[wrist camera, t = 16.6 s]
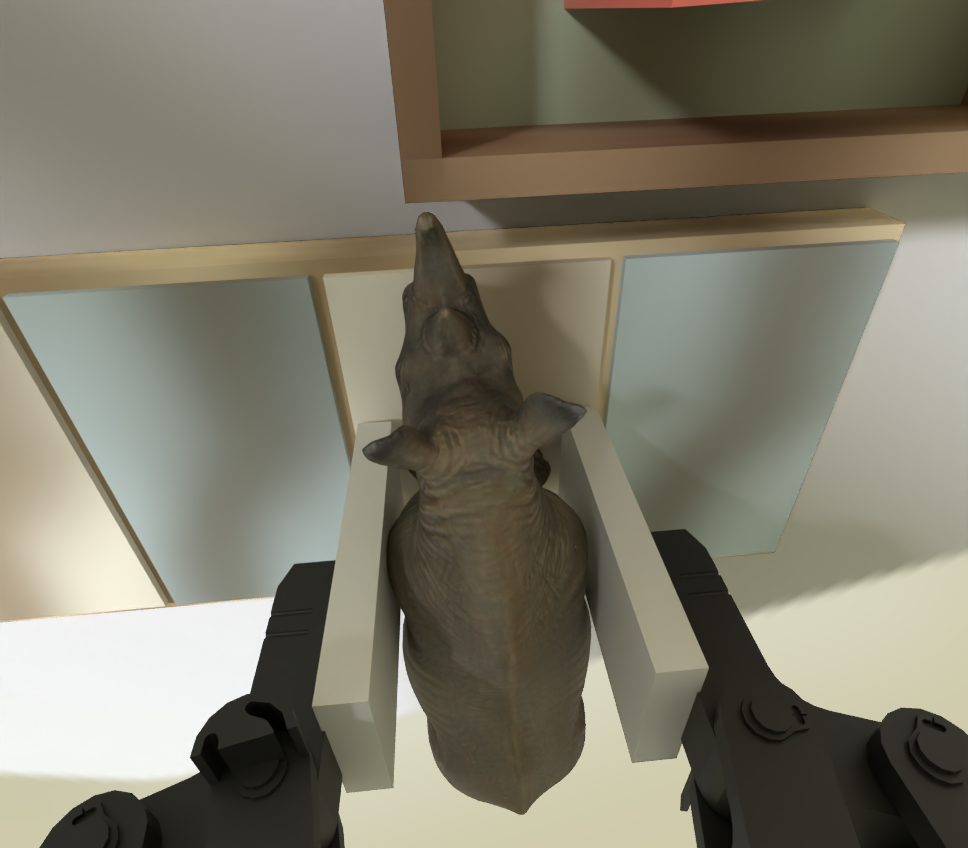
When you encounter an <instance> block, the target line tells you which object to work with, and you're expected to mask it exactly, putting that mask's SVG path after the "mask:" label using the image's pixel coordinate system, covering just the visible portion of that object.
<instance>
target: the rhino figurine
mask: <svg viewBox="0 0 968 848" xmlns="http://www.w3.org/2000/svg"><path fill="white" fill-rule="evenodd" d="M415 231H416V233H415V238H416V257H415V265H414V278H413V282H412V283H410V284H408V285H407V286H406V287H405V289H404V291H403V295H402V301H403V312H404V318H405V337H404V341H403V346H402V349H401V352H400V355H399V358H398V360H397V362H396V366H395V376H396V379H397V383H398V386H399V390H400V394H401V399H402V422H403V426H401V427H399V428H397V429H396V430H395V431H394V432H392V433H391V434H390V435H389V436H386V437H383V438H380V439H377V440H375V441H372V442H370V443H369V444H368V445H366V446H365V447H364V448H363V449H362V452H363V455H364V456H365V457H366V458H367V459H368V460H369V461H371V462H373V463H377V464H379V465H383V466H389V467H394V468H398V469H407V470H408V471H409V472H410V473H411V474H412V475H413V476H414V477H415V478H416V479H417V480H418V483H419V487H420V489H419V491H418V492H417V493H415V494H414V495H413V496H412V498H411V499H410V500H409V501H408V502H407V504H406V506H405V507H404V509H403V510H402V512H401V514H400V517H399V518H398V519H397V520H396V521H395V523H394V524H393V526H392V528H391V529H390V532H389V537H388V545H387V567H388V575H389V580H390V583H391V586H392V589H393V591H394V593H395V596H396V598H397V600H398V602H399V604H400V607H401V609H402V611H403V613H404V615H405V619H404V624H403V655H404V661H405V667H406V671H407V674H408V678H409V681H410V683H411V686H412V688H413V691H414V693H415V695H416V697H417V699H418V701H419V703H420V705H421V707H422V709H423V711H424V712H425V714H426V715H427V723H428V735H429V742H430V746H431V749H432V753H433V756H434V759H435V761H436V764H437V766H438V768H439V769H440V771H441V772H442V774H443V775H444V777H445V778H446V779H447V780H448V782H449V783H450V784H451V785H452V786H453V787H454V788H456V789H457V790H459V791H460V792H462V793H464V794H465V795H467V796H469V797H471V798H474V799H476V800H478V801H482V802H486V803H490V804H493V805H497V806H500V807H503V808H506V809H508V810H510V811H513V812H515V813H517V814H520V815H523V814H525V813H526V812H527V811H528V809H529V807H530V806H531V805H532V804H533V803H534V802H535V801H536V799H538V798H539V797H540V796H541V795H542V794H543V793H544V792H546V791H547V790H548V789H549V788H551V787H552V786H554V785H555V784H557V783H558V782H560V781H561V780H562V779H563V778H564V777H565V776H566V775H567V774H568V773H569V772H570V771H571V770H572V769H573V767H574V766H575V765H576V763H577V761H578V759H579V757H580V755H581V752H582V750H583V747H584V741H585V726H586V724H585V712H584V703H583V699H582V696H581V695H582V691H583V688H584V683H585V677H586V672H587V667H588V661H589V653H590V640H591V623H590V616H589V611H588V608H587V605H586V601H585V599H584V595H585V589H586V583H587V566H588V542H587V536H586V531H585V528H584V526H583V524H582V522H581V519H580V518H579V516H578V515H577V513H576V512H575V511H574V509H573V508H572V507H570V506H569V505H568V504H567V503H565V502H564V501H563V500H562V499H561V498H560V497H559V496H558V495H557V494H555V493H554V492H552V491H550V490H548V489H545V488H543V487H542V486H543V485H544V484H545V483H546V481H547V479H548V478H549V475H550V472H551V467H550V464H549V462H548V461H546V460H545V459H543V454H542V452H541V450H540V449H539V447H540V446H542V445H543V444H545V443H547V442H549V441H550V440H552V439H554V438H556V437H558V436H560V435H562V434H563V433H565V432H567V431H568V430H570V429H571V428H573V427H574V426H575V425H576V424H577V422H578V421H579V420H581V419H582V418H583V417H584V416H585V414H586V413H587V410H586V409H585V407H583V406H581V405H579V404H575V403H570V402H567V401H564V400H562V399H560V398H557V397H555V396H552V395H548V394H545V393H542V392H535V393H532V394H530V395H529V396H528V397H527V398H526V399H525V401H524V400H523V395H522V393H521V391H520V389H519V387H518V386H517V384H516V381H515V378H514V375H513V365H512V354H511V347H510V344H509V343H508V341H507V340H506V338H505V337H504V336H503V335H502V334H501V333H499V332H498V331H497V330H496V329H495V328H494V327H493V326H492V325H491V323H490V321H489V320H488V317H487V315H486V312H485V309H484V307H483V304H482V301H481V298H480V294H479V291H478V288H477V285H476V282H475V279H474V278H473V277H472V276H471V275H470V274H467V273H464V271H463V269H462V267H461V265H460V263H459V260H458V258H457V256H456V254H455V251H454V249H453V247H452V245H451V243H450V241H449V239H448V237H447V235H446V233H445V230H444V228H443V226H442V224H441V223H440V222H439V220H438V219H437V218H436V217H435V216H434V215H433V214H431V213H429V212H424V213H422V214H420V215H419V216H418V219H417V224H416V228H415Z"/></svg>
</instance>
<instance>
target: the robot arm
mask: <svg viewBox="0 0 968 848" xmlns="http://www.w3.org/2000/svg"><path fill="white" fill-rule="evenodd" d="M585 409H586V410H587V413H586V414H585V416H584V417H583V418H582V419H581V420H579V421H578V422H577V424H576V425H575V426H574V427H573V428H571V429H570V430H568V431H567V432H565V433H563V434H562V442H561V458H560V474H559V491H558V496H559V497H560V498H561V499H562V500H563V501H564V502H565V503H567V504H568V505H569V506H570V507H572V508H573V509H574V511H575V512H576V513H577V515H578V516H579V518H580V519H581V522H582V524H583V526H584V528H585V531H586V536H587V542H588V566H587V583H586V589H585V594H586V597H587V601H588V604H589V608H590V612H591V615H592V619H593V623H594V626H595V630H596V633H597V637H598V641H599V644H600V648H601V652H602V655H603V659H604V662H605V666H606V670H607V673H608V677H609V680H610V684H611V688H612V691H613V695H614V698H615V702H616V706H617V710H618V713H619V717H620V720H621V724H622V727H623V731H624V735H625V739H626V742H627V746H628V749H629V753H630V757H631V760H632V763H634V762H644V761H653V760H662V759H673V758H677V755H678V752H679V750H680V746H681V744H683V746H684V749H685V752H686V755H687V758H688V761H689V764H690V766H691V772H690V774H689V777H688V780H687V782H686V784H685V787H684V789H683V792H682V794H681V807H680V810H681V811H688V809H689V806H690V804H691V810H692V816H693V823H694V830H695V836H696V842H697V848H968V735H967V734H966V733H965V732H964V731H963V730H961V729H960V728H958V727H957V726H955V725H954V724H952V723H951V722H949V721H948V720H946V719H944V718H943V717H941V716H939V715H936V714H933V713H930V712H928V711H925V710H922V709H913V708H900V709H897V710H895V711H893V712H890V713H888V714H887V715H886V716H885V718H884V719H883V720H882V722H877V721H873V720H868V719H864V718H859V717H855V716H850V715H846V714H841V713H837V712H832V711H828V710H825V709H822V708H819V707H816V706H813V705H811V704H810V703H808V702H806V701H804V700H802V699H801V698H800V697H799V696H798V695H797V694H796V693H795V692H794V691H793V690H792V689H790V688H789V687H787V686H785V685H784V684H782V683H781V682H780V681H779V680H778V679H777V678H776V677H775V676H774V674H773V673H772V671H771V670H770V668H769V667H768V665H767V663H766V661H765V659H764V657H763V655H762V654H761V652H760V650H759V648H758V646H757V644H756V642H755V640H754V639H753V637H752V635H751V633H750V631H749V629H748V627H747V625H746V623H745V621H744V619H743V617H742V615H741V614H740V612H739V610H738V608H737V606H736V604H735V602H734V600H733V598H732V596H731V595H729V594H728V589H727V587H726V585H725V583H724V581H723V579H722V577H721V575H720V576H719V575H718V570H717V568H716V566H715V564H714V562H713V560H712V558H711V556H710V555H709V553H708V551H707V549H706V547H704V546H703V545H702V544H701V543H700V542H699V541H698V540H697V539H696V538H695V537H694V536H693V535H691V534H690V533H689V532H688V531H687V530H686V529H678V530H666V531H654V532H650V530H649V528H648V526H647V524H646V521H645V519H644V517H643V514H642V512H641V510H640V507H639V505H638V503H637V500H636V498H635V496H634V494H633V491H632V489H631V487H630V484H629V482H628V480H627V477H626V475H625V473H624V470H623V468H622V466H621V464H620V461H619V459H618V457H617V454H616V452H615V450H614V447H613V445H612V443H611V440H610V438H609V436H608V434H607V431H606V429H605V427H604V424H603V422H602V420H601V417H600V415H599V413H598V410H597V408H596V406H592V407H585ZM392 432H393V429H392V423H391V421H389V422H375V423H362V424H358V427H357V433H356V439H355V445H354V451H353V457H352V463H351V470H350V476H349V482H348V488H347V494H346V500H345V506H344V513H343V519H342V525H341V531H340V537H339V543H338V549H337V555H336V560H331V561H320V562H308V563H296V564H294V565H293V566H292V567H291V569H290V570H289V572H288V573H287V574H286V576H285V577H284V579H283V580H282V581H281V583H280V584H279V585H278V587H277V591H276V595H275V599H274V603H273V606H272V610H271V617H270V618H269V622H268V626H267V630H266V638H265V639H264V641H263V645H262V649H261V653H260V657H259V661H258V665H257V669H256V673H255V676H254V680H253V684H252V688H251V692H250V694H246V695H244V696H242V697H240V698H237V699H235V700H233V701H231V702H228V703H227V704H225V705H224V706H223V707H222V708H221V709H219V710H218V711H217V712H216V713H215V714H214V715H212V716H211V717H210V718H209V719H208V721H207V722H206V724H205V725H204V727H203V728H202V729H201V731H200V732H199V734H198V735H197V737H196V740H195V743H194V746H193V749H192V753H191V756H190V758H191V760H192V761H193V762H194V764H195V765H196V767H197V768H198V769H199V771H200V772H199V773H198V774H196V775H194V776H192V777H190V778H188V779H186V780H184V781H182V782H179V783H177V784H175V785H173V786H170V787H168V788H166V789H163V790H161V791H159V792H156V793H154V794H152V795H150V796H147V797H145V798H143V799H140V800H138V799H137V797H135V796H134V795H133V794H132V793H128V792H122V791H116V790H114V791H111V792H107V793H103V794H99V795H95V796H93V797H91V798H90V799H88V800H86V801H85V802H83V803H81V804H80V805H78V806H76V807H75V808H73V809H72V810H71V811H70V812H69V813H68V814H67V815H65V816H64V817H63V818H62V819H61V821H59V823H57V824H56V825H55V826H54V827H53V828H52V830H51V831H50V833H49V834H48V836H47V837H46V839H45V840H44V842H43V843H42V845H41V846H40V848H345V847H344V834H343V827H342V823H341V820H340V816H339V813H338V812H339V803H340V794H341V785H342V782H343V785H344V787H345V790H346V792H347V793H350V792H359V791H369V790H377V789H387V788H393V782H394V757H395V755H394V754H395V732H396V708H397V684H398V659H399V635H400V610H401V607H400V604H399V602H398V600H397V598H396V596H395V593H394V591H393V589H392V586H391V583H390V580H389V575H388V567H387V545H388V537H389V532H390V529H391V528H392V526H393V524H394V523H395V521H396V520H397V519H398V518H399V517H400V514H401V512H402V510H403V509H404V507H405V506H404V500H403V493H402V487H401V480H400V474H399V469H398V468H394V467H389V466H383V465H379V464H377V463H373V462H371V461H369V460H368V459H367V458H366V457H365V456H364V455H363V452H362V449H363V448H364V447H365V446H366V445H368V444H369V443H370V442H372V441H375V440H377V439H380V438H383V437H386V436H389V435H390V434H391V433H392Z"/></svg>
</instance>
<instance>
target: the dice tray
mask: <svg viewBox="0 0 968 848" xmlns="http://www.w3.org/2000/svg"><path fill="white" fill-rule="evenodd" d="M383 2H384V11H385V20H386V29H387V38H388V48H389V57H390V66H391V75H392V84H393V94H394V103H395V112H396V121H397V130H398V140H399V149H400V158H401V167H402V176H403V186H404V195H405V203H423V202H441V201H459V200H477V199H495V198H512V197H530V196H548V195H566V194H584V193H602V192H620V191H638V190H656V189H673V188H691V187H709V186H727V185H745V184H763V183H781V182H799V181H817V180H834V179H852V178H870V177H888V176H906V175H924V174H942V173H960V172H968V0H760V1H747V2H735V3H722V4H710V5H697V6H685V7H672V8H581V9H564V0H383Z"/></svg>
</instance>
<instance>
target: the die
mask: <svg viewBox="0 0 968 848" xmlns="http://www.w3.org/2000/svg"><path fill="white" fill-rule="evenodd" d="M747 1H760V0H564V9H581V8H672V7H685V6H697V5H710V4H722V3H735V2H747Z"/></svg>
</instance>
